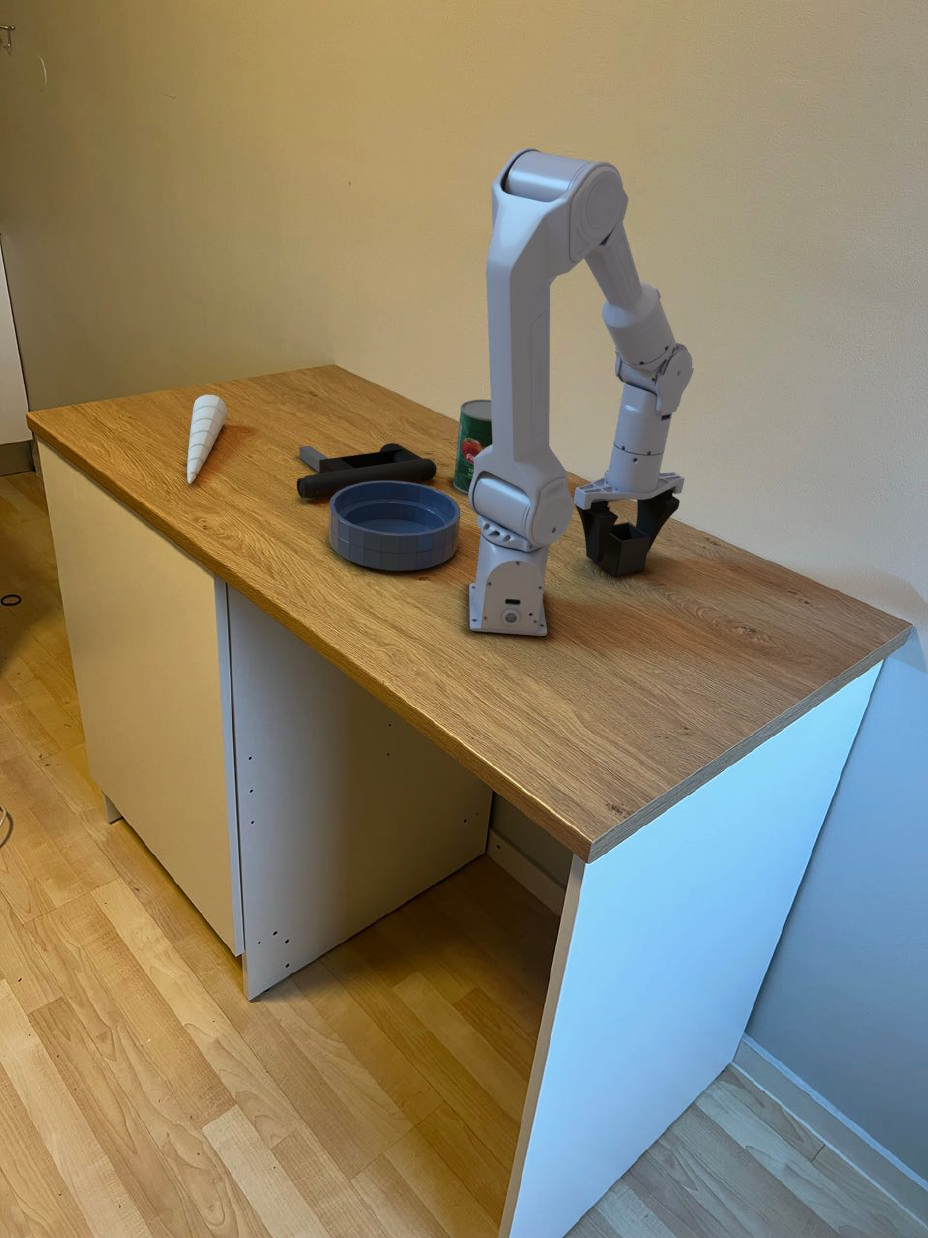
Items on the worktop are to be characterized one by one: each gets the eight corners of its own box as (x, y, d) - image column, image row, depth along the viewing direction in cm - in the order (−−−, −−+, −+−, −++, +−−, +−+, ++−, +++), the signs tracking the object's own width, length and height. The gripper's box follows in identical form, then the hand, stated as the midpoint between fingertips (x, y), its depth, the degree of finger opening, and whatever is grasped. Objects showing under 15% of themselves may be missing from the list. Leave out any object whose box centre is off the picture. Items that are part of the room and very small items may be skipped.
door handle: (259, 446, 127) (308, 483, 116) (388, 430, 137) (445, 463, 126) (260, 469, 129) (308, 508, 117) (387, 452, 139) (444, 486, 127)
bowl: (456, 580, 105) (460, 540, 102) (321, 569, 104) (321, 529, 102) (457, 522, 118) (460, 485, 115) (336, 512, 117) (337, 475, 115)
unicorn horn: (159, 485, 119) (156, 449, 117) (196, 423, 140) (194, 391, 137) (197, 487, 120) (195, 452, 117) (228, 425, 140) (227, 394, 138)
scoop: (643, 571, 111) (651, 536, 109) (614, 577, 109) (621, 542, 107) (602, 542, 117) (608, 509, 114) (574, 548, 115) (580, 514, 112)
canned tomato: (467, 500, 124) (475, 420, 119) (444, 477, 130) (450, 400, 125) (520, 494, 127) (530, 417, 122) (495, 472, 133) (503, 397, 128)
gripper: (664, 427, 110) (643, 530, 117) (565, 440, 104) (548, 549, 111) (705, 448, 105) (680, 555, 112) (604, 463, 99) (584, 576, 106)
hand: (617, 554), depth 111 cm, fingers open, 7 cm apart
